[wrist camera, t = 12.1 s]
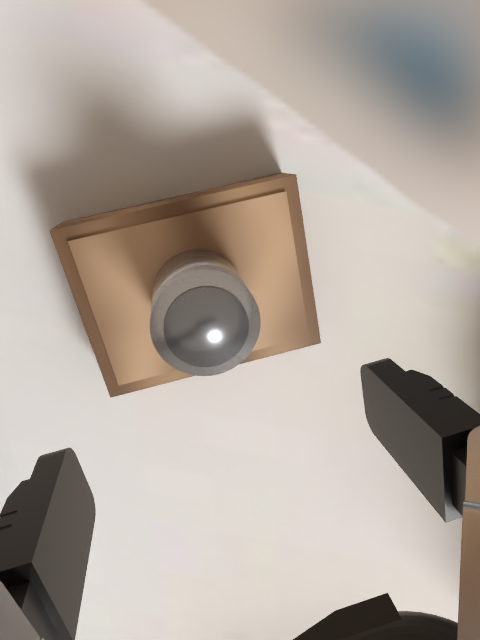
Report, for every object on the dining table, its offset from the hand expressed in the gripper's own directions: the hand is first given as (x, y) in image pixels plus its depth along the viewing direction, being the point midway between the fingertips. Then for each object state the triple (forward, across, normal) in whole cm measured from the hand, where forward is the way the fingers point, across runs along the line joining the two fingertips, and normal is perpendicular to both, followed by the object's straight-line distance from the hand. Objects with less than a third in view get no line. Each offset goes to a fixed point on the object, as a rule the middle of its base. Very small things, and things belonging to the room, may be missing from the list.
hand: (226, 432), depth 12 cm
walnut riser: (+16, -1, 0) cm, 17 cm away
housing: (+13, 0, 0) cm, 13 cm away
